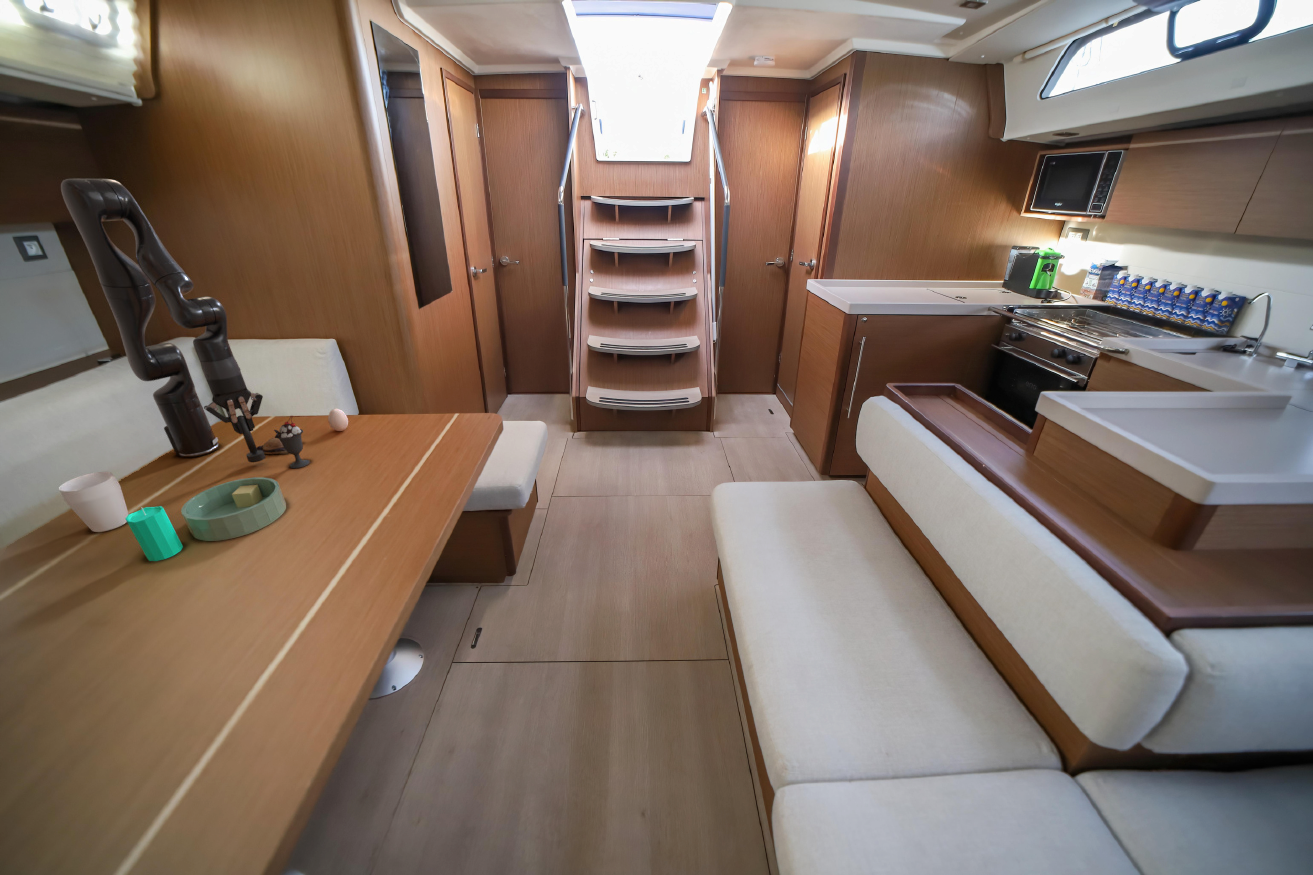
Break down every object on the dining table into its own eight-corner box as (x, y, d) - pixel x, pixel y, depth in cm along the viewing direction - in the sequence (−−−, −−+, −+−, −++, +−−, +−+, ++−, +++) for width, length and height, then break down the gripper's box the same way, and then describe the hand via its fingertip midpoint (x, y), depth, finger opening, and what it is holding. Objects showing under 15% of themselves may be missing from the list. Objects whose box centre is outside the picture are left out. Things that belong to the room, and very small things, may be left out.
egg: (348, 433, 166) (341, 411, 163) (329, 435, 165) (322, 413, 161) (352, 426, 171) (346, 405, 167) (334, 428, 170) (327, 406, 166)
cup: (144, 518, 122) (121, 476, 117) (95, 539, 115) (68, 495, 109) (125, 509, 125) (102, 468, 120) (76, 529, 118) (50, 486, 113)
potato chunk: (237, 507, 126) (231, 494, 124) (245, 499, 129) (240, 486, 127) (255, 506, 126) (249, 492, 125) (263, 497, 130) (257, 484, 128)
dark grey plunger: (245, 463, 144) (227, 418, 138) (253, 456, 148) (235, 413, 141) (260, 462, 145) (243, 417, 139) (268, 455, 148) (251, 412, 142)
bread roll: (304, 442, 160) (301, 432, 158) (287, 454, 152) (283, 444, 151) (270, 442, 160) (266, 432, 158) (252, 454, 152) (247, 444, 150)
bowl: (171, 545, 113) (160, 523, 110) (221, 500, 130) (212, 480, 127) (262, 536, 116) (253, 515, 113) (299, 493, 133) (292, 474, 130)
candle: (189, 547, 113) (167, 502, 107) (158, 563, 107) (133, 517, 102) (171, 541, 114) (149, 497, 109) (140, 557, 109) (114, 512, 104)
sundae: (318, 459, 150) (303, 413, 143) (302, 470, 144) (285, 423, 137) (298, 458, 150) (282, 412, 144) (280, 469, 144) (263, 422, 138)
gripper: (247, 365, 142) (268, 420, 149) (186, 378, 132) (211, 437, 139) (258, 370, 138) (278, 426, 145) (196, 383, 128) (221, 444, 135)
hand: (245, 431), depth 142 cm, fingers closed on dark grey plunger, 2 cm apart
